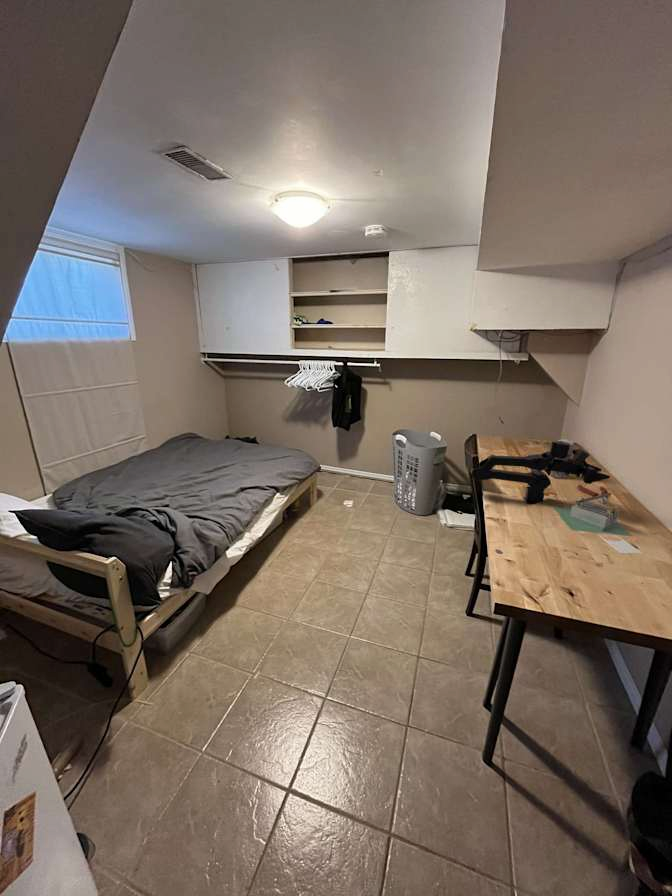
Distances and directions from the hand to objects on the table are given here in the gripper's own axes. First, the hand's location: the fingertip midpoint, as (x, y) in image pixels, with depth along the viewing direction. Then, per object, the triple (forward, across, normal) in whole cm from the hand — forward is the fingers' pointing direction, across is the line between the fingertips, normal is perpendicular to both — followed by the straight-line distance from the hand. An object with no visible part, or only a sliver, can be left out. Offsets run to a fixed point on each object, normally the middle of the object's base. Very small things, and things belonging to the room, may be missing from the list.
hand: (605, 473), depth 152 cm
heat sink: (-5, -16, +16) cm, 23 cm away
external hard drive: (-2, -32, +17) cm, 37 cm away
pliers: (+5, +17, +17) cm, 25 cm away
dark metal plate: (-7, -15, +7) cm, 18 cm away
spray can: (-4, +41, +17) cm, 44 cm away
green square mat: (-6, -16, +17) cm, 24 cm away
